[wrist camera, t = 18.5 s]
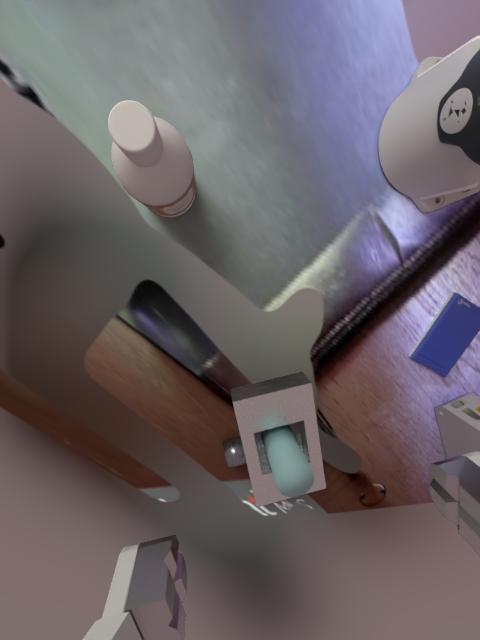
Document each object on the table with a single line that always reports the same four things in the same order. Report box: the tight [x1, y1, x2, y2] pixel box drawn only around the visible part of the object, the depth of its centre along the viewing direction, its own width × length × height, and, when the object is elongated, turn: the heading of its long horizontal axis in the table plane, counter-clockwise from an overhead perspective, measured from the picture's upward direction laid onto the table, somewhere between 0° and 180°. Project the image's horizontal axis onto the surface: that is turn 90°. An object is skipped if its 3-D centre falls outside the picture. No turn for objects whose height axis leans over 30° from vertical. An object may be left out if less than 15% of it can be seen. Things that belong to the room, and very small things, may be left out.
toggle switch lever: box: [262, 424, 314, 499], centre depth 43 cm, size 5×7×10 cm
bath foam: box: [108, 100, 196, 217], centre depth 27 cm, size 7×7×20 cm
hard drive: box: [409, 292, 480, 377], centre depth 47 cm, size 2×8×12 cm
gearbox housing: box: [223, 372, 326, 507], centre depth 46 cm, size 15×20×4 cm
